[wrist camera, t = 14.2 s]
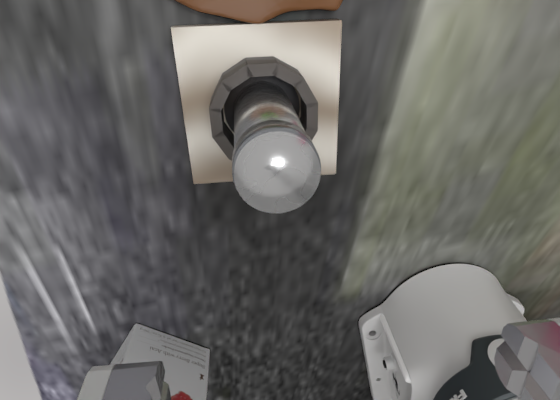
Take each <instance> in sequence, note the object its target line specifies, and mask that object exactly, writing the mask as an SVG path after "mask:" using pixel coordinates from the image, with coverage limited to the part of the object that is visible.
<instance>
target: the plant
mask: <svg viewBox="0 0 560 400" xmlns="http://www.w3.org/2000/svg"><path fill="white" fill-rule="evenodd" d="M175 1H177V2H179V3H181V4H183V5H185V6H187V7H189V8H191V9H194V10H196V11H199V12H203V13H207V14H212V15H217V16H222V17H226V18H230V19H235V20H239V21H243V22H248V23H253V24H261V23H264V22H266V21H268V20H270V19H272V18H274V17H276V16H278V15H280V14H283V13H286V12H290V11H296V10H312V9H323V10H331V11H334V10H337V9H338V8H339V7H340V5H341V3H342V1H343V0H175Z"/></svg>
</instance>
